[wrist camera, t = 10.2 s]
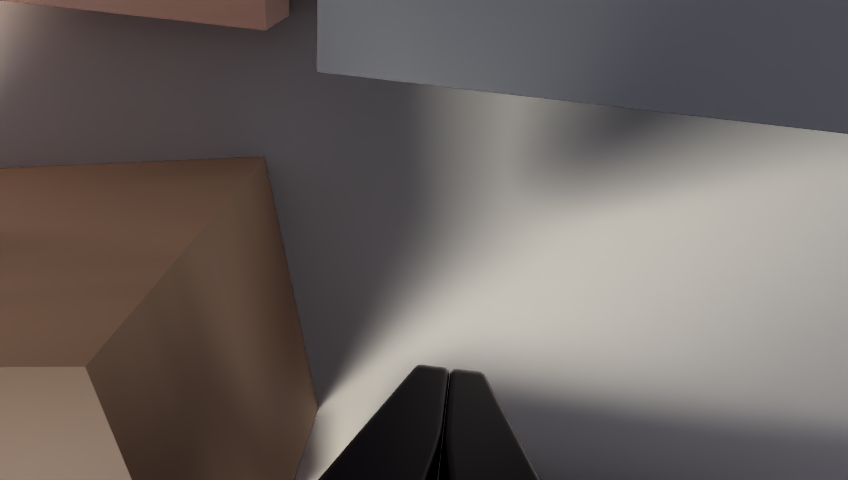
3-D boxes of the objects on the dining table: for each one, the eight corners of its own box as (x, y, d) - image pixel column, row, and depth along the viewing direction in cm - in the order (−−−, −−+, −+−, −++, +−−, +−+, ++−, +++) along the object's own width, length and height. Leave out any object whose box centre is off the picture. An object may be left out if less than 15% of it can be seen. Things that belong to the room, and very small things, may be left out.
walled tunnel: (907, 579, 13) (990, 724, 11) (343, 496, 13) (311, 616, 11) (1301, 22, 8) (1616, 79, 6) (366, -76, 8) (318, -58, 6)
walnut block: (319, 406, 12) (219, 692, 8) (72, 404, 13) (-143, 669, 9) (265, 154, 10) (84, 365, 6) (-32, 168, 11) (-398, 367, 6)
